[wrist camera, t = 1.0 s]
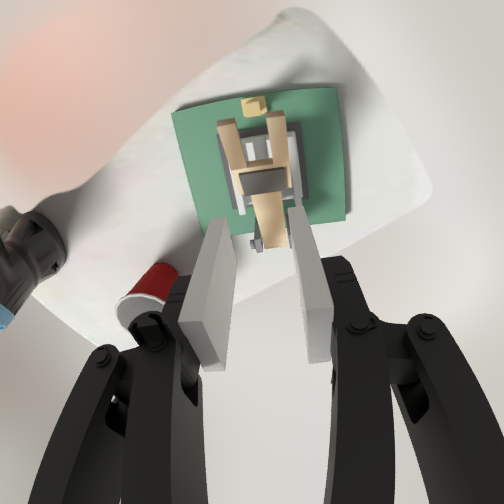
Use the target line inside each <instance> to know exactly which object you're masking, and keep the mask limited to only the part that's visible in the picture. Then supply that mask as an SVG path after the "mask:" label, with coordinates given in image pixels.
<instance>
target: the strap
mask: <svg viewBox="0 0 504 504" xmlns="http://www.w3.org/2000/svg"><path fill="white" fill-rule="evenodd" d="M265 115H266V121H267V127H268V133H269V139H270V145H271V152H272V158H267V159H260V160H254V161H246V158H245V154H244V150H243V146H242V142H241V139H240V135H239V131H238V127H237V124H236V120H235V117H234V118H229V119H224V120H219V121H217V130H218V133H219V136H220V139H221V142H222V145H223V148H224V151H225V154H226V157H227V160H228V163H229V166H230V169H231V172H232V175H233V178H234V181H235V184H236V187H237V190H238V193H239V195H241V194H244V195H245V196H250V195H251V199H252V203H253V206H254V210H255V214H256V217H257V221H258V225H259V228H260V232H261V236H262V239H263V243H264V247H265V249H269V248H277V247H285V246H287V237H286V228H285V219H284V210H283V202H282V194H281V191H286V188H290V187H292V185H291V172H290V161H289V149H288V139H287V129H286V120H285V114H284V110H280V111H272V112H265Z"/></svg>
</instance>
